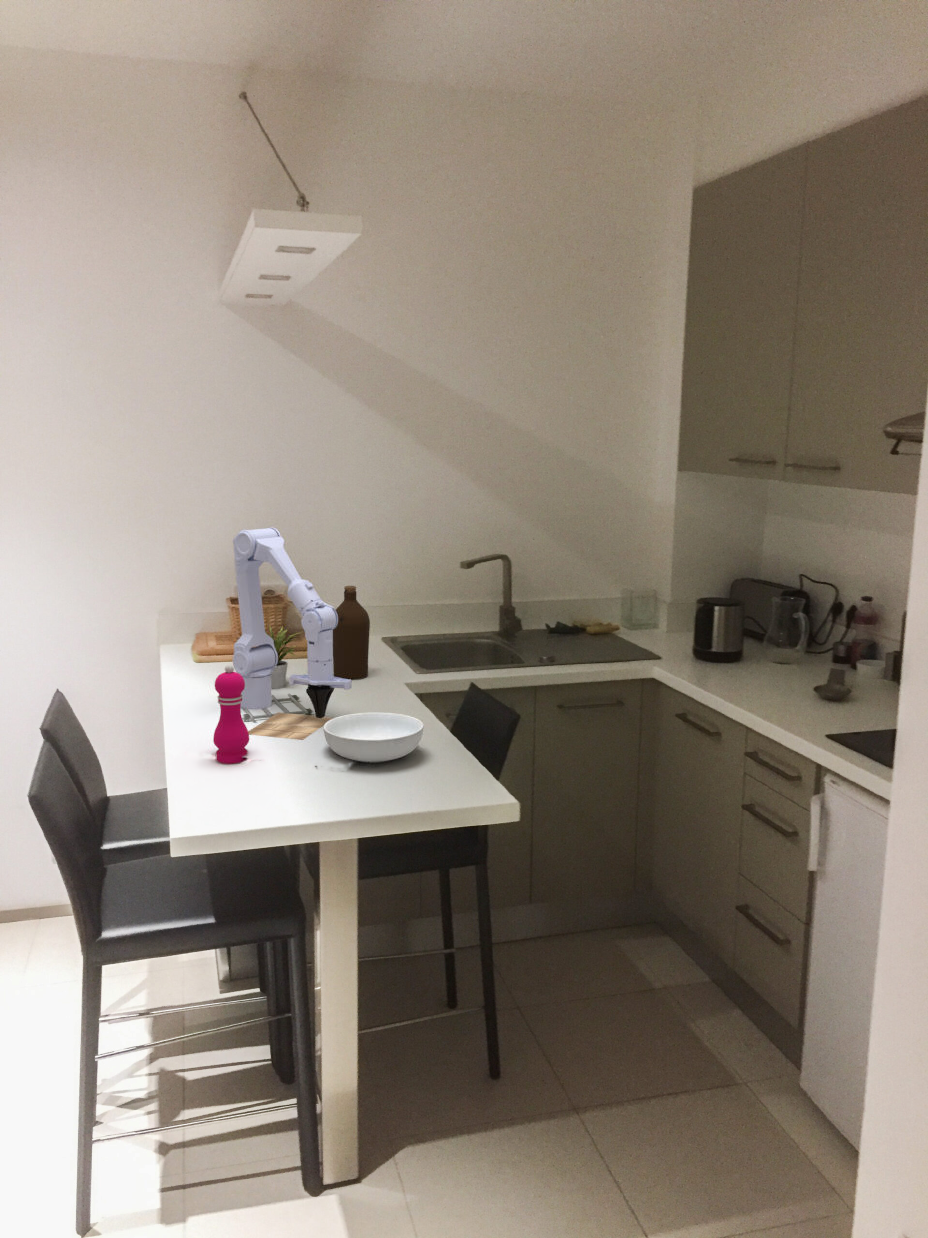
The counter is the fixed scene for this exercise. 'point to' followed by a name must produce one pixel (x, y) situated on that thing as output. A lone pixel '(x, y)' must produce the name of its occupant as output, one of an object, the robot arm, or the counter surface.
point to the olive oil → (351, 638)
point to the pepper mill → (230, 718)
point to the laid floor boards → (282, 731)
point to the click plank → (298, 720)
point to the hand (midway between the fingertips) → (320, 716)
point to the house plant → (280, 658)
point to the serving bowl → (373, 736)
